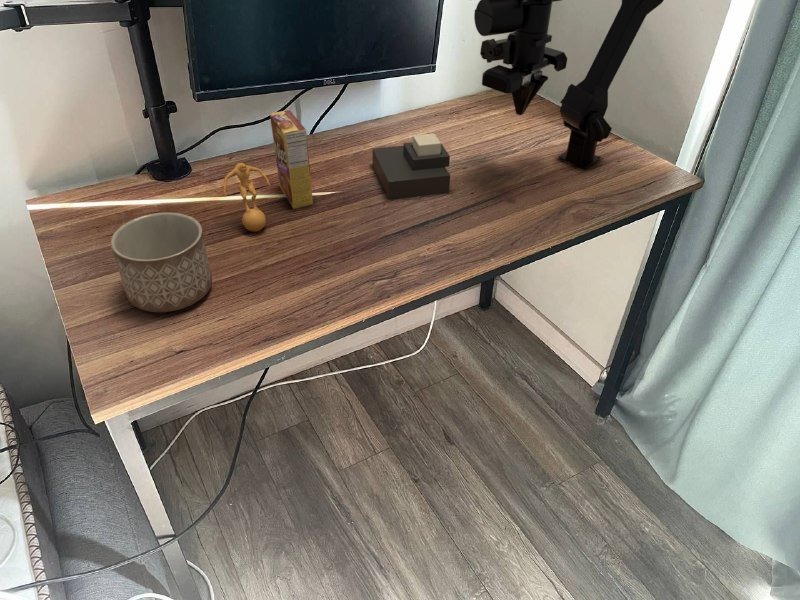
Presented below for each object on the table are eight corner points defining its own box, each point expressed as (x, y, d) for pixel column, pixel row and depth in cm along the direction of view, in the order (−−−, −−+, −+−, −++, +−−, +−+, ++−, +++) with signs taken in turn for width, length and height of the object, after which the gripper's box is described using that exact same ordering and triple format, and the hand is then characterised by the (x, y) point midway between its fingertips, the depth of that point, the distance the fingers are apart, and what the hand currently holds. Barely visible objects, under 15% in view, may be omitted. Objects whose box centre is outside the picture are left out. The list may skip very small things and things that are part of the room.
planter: (179, 327, 96) (164, 269, 89) (110, 304, 99) (90, 247, 93) (229, 279, 105) (219, 223, 98) (164, 259, 108) (150, 205, 102)
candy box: (277, 187, 127) (268, 112, 118) (298, 183, 129) (292, 108, 119) (291, 210, 121) (283, 132, 112) (313, 205, 123) (307, 128, 113)
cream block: (433, 145, 130) (434, 133, 129) (440, 155, 127) (441, 143, 125) (412, 147, 129) (412, 135, 128) (418, 157, 126) (418, 145, 125)
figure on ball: (236, 241, 113) (226, 179, 105) (224, 225, 117) (213, 163, 109) (281, 228, 116) (274, 167, 109) (268, 212, 120) (261, 152, 113)
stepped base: (432, 159, 138) (434, 132, 134) (453, 192, 127) (455, 164, 123) (372, 165, 135) (372, 138, 131) (388, 199, 125) (388, 171, 121)
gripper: (524, 8, 124) (513, 89, 134) (461, 29, 114) (455, 115, 124) (575, 21, 119) (560, 105, 128) (514, 45, 108) (503, 134, 118)
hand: (519, 114), depth 125 cm, fingers closed
